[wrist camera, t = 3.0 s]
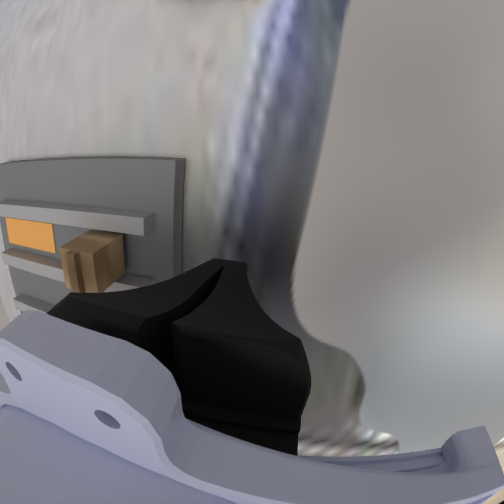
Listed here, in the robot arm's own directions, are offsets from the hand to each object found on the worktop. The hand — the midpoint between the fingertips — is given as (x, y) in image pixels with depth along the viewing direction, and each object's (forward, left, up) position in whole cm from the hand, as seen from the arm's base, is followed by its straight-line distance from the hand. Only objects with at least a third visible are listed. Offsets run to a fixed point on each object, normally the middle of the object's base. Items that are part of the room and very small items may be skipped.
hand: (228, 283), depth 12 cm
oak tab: (0, +6, -1) cm, 6 cm away
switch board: (-3, +10, -3) cm, 11 cm away
